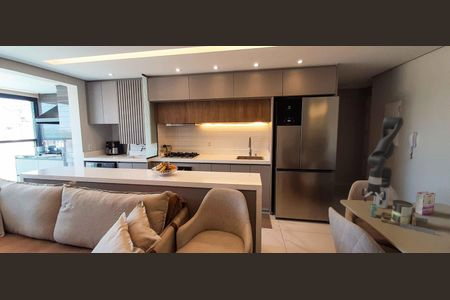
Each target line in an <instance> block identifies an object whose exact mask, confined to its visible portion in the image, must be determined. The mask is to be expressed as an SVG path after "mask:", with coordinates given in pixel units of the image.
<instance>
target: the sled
mask: <svg viewBox="0 0 450 300" xmlns="http://www.w3.org/2000/svg"><path fill="white" fill-rule="evenodd" d="M377 208H378V207H377V205H375V204H373V203H371V205H370V217H372V218H380V221H381V222H383V223H386V224H387V223H388V224H392V225H397V226H400V222H395V221H392V220H391V219H390V220H389V219H385V218H384V216H390V217H391V215H392V212H387V211H381V210H380V212H379V213H380V214H377V212H378V211H377V210H378V209H377ZM416 217H417V216H415V212H414V211H413V210H412V214H411V222H410V225H412V226H417V221H416ZM403 224H405V223H403ZM408 225H409V224H408Z"/></svg>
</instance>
